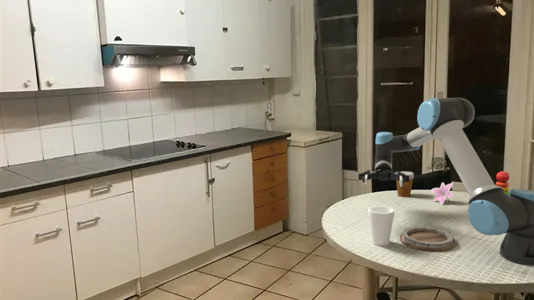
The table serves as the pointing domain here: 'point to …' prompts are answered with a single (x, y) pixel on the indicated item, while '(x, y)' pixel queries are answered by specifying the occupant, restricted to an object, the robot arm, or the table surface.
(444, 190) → the lily
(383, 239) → the foam cup
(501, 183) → the stacking toy
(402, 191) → the disposable coffee cup
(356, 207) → the table surface
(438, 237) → the plate
